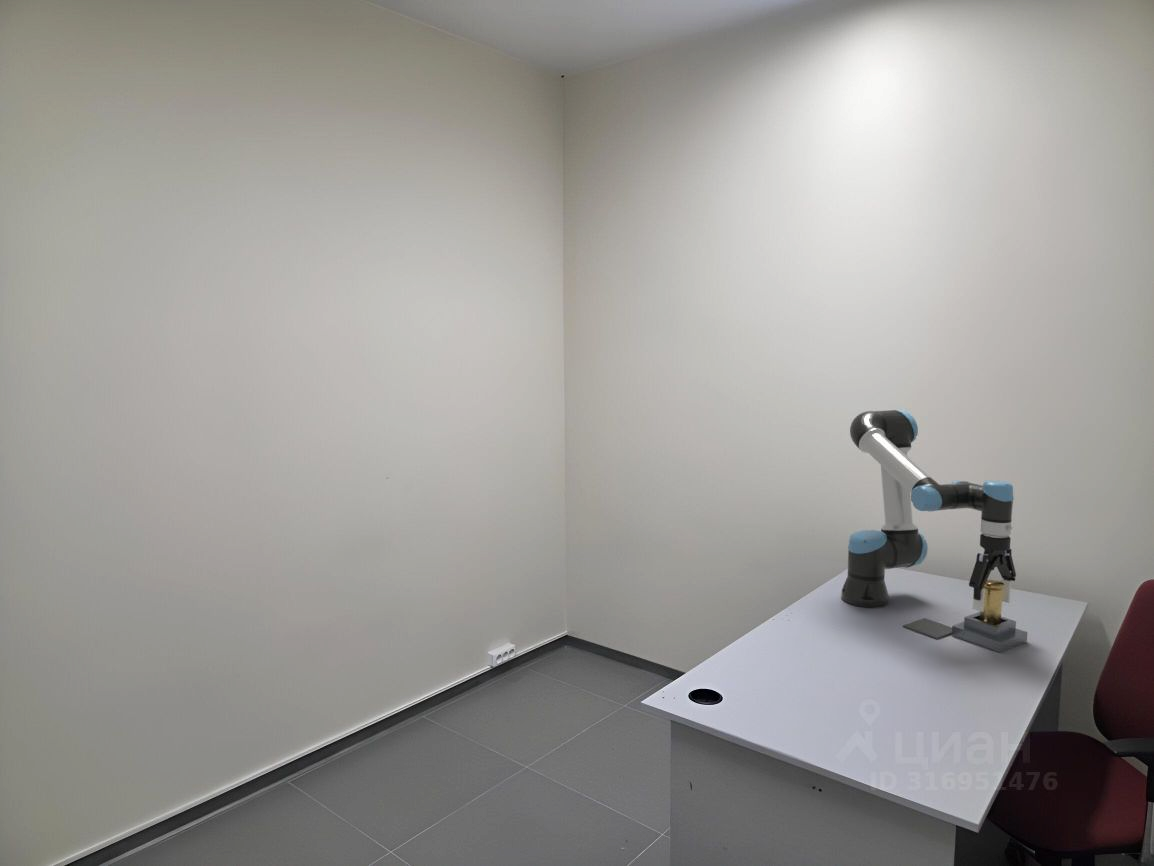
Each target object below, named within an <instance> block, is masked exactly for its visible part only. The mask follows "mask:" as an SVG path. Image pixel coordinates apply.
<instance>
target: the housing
mask: <svg viewBox="0 0 1154 866" xmlns="http://www.w3.org/2000/svg"><path fill="white" fill-rule="evenodd" d="M979 616H980V611H977V612H975V613H972V614H969V615H967V616H964V618H963V621H962V622H960V623H957V624H954V625H952V626H951V627H952V634H951V636H952V637H955V638H957V639H960V640H963V641H965V642H968V643H972V644H974V645H977V646H980V647H983V648H985V649H988V650H991V651H994V652H996V653H1000V654H1001V653H1004V652H1006V651H1008V650H1011V649H1014V648H1016V647H1019V646H1020V645H1024V644H1025V643H1028V631H1025V630H1022V629H1019V628H1016V627H1017V621H1016V620H1013V619H1010V618H1006V617H1004V616H1001V623H1000V624H997V625H993V624H990V623H987V622H984V621H981V620H979Z"/></svg>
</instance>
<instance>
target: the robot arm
mask: <svg viewBox="0 0 1154 866" xmlns="http://www.w3.org/2000/svg"><path fill="white" fill-rule="evenodd" d="M849 435H850V438H851V440H852V442H853V443H854V445H855V446H856V447H857V448H858V449H859V450H860V451H861V452H863V453H864V454H865V453H866V454H869V455H870V456H871V457H872V458H873V459H874V460H875V461H876V462H877V463H878V464H879V465H880V471H881V483H882V484H881V485H882V487H881V488H882V497H883V511H884V513H883V514H884V524H883V525H882V527H881V528H880V530H876V529H875V530H874V529H870V530H869V529H867V530H866V529H865V530H858V531H856V532H854V533H852V534H851V535H850V536H849V538H848V546H847V549H848V555H847V556H848V557H847V558H848V559H847V576H846V579H845V581H844V584H843V586H842V589H841V593H840V595H841V596H840V597H841V600H842V601H844V602H845V603H847V604H850V605H853V606H857V607H861V608H871V609H873V608H875V609H877V608H884V607H887V606H889V604H890V594H889V591H888V588H887V585H886V584H887V583H886V581H885V577H886V576H885V575H886V574H885V572H886V570H891V569H899V568H900V569H901V568H911V567H915V566H918V565H921V564H922V563H923V561H925V559H926V557H927V555H928V550H929V548H928V542H927V540H926V539H925V536H924V535H923V534H922V533H920V532H919V528H918V526H917V525H916V524H914V522H913V514H912V513H913V511H912V505H913V507H914V508H915V509H916V510H918V511H921V512H936V511H937V512H938V511H947V510H960V509H972V510H975V511H979V512H981V514H980V515H981V516H980V517H981V519H980V532H981V533H980V535H979V546H980V547H981V548H982V549H983V554H982V553H979V552H978V553H977V554H976V561H975V562H974V563H975V564H974V567H973V570H972V574H971V577H970V578H969V579H970V580H969V582H968V586H969V587H970V588H973V595H972V596H973V597H972V599H973V600H972V610H975V611H977V612H980V611H981V612H983V611H984V596H985V589H983V587H984V585H985V583H986V581H987V580H989V576H990V574H991V573H992V571H994V570H995V568H997V571H998V572H999V573H1000V574H999V575H1000V576H1001V578H1000V579H999V582H1002V583H1004V589H1003V596H1002V603H1003V602H1004V603H1007V604H1009V603H1010V602H1011V589H1012V587H1011V586H1012V584H1011V583H1012V582H1015V581H1016V576H1017V572H1016V568H1015V564H1014V560H1013V557H1012V548H1011V539H1012V538H1011V536H1010V535H1012V530H1013V526H1012V519H1013V518H1012V515H1013V503H1014V499H1015V498H1014V485H1013V484H1012V483H1010V482H1008V481H1002V480H986V481H985V480H984V482H983V484H982V485H981V484H977V483H973V482H970V481H969V482H968V481H966V480H965V481H964V480H963V481H962V480H954V481H952V482H951V483H947V484H939V483H938V482H937V481H936V480H935V479H934V478H932V477H931V476H930V475H929V474H928V473H927V472H926V471H924V469H922V468H921V467H920V466H919V465H918V464H917V463H916V462H914V461H913V460H912V459H911V458H910V457H909V456H908V453H909V451H910V450H911V449H912V443H913V442H914V441H915V440H916V439H917V436H918V435H919V427H918V424H917V420H916V419H915V418H914V416H913V415H911V414H910V413H909V412H908V411H906V410H898V409H897V410H896V409H893V410H892V409H891V410H868V411H864V412H861V413H859V414H858V415H856V417H854V418H853V420H852V422H851V423H850V428H849Z"/></svg>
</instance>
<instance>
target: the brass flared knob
mask: <svg viewBox="0 0 1154 866" xmlns="http://www.w3.org/2000/svg"><path fill="white" fill-rule="evenodd" d="M983 589H985V596H984V611H983V612H981V611H979V612H980V616H979V620H981V621H984V622H987V623H990V624H993V625H997V624H1000V623H1001V617H1002V611H1003V610H1002V607H1003V601H1002V596H1003V589H1004V583H1002V582H1000V580H995V579H987V581H986V583H985V585H984V587H983Z"/></svg>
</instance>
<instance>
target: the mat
mask: <svg viewBox="0 0 1154 866" xmlns="http://www.w3.org/2000/svg"><path fill="white" fill-rule="evenodd" d="M902 628H904V629H907V630H910V631H913V632H915V633H918V634H921V635H923V636H925V637H929V638H932V639H934V640H940V639H943V638H945V637H948V636H952V626H949V625H946V624H944V623H940V622H937V621H934V620H933V619H929V618H926V617H925V618H921V619H917V620H914V621H912V622H909V623H906V624H903V625H902Z"/></svg>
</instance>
